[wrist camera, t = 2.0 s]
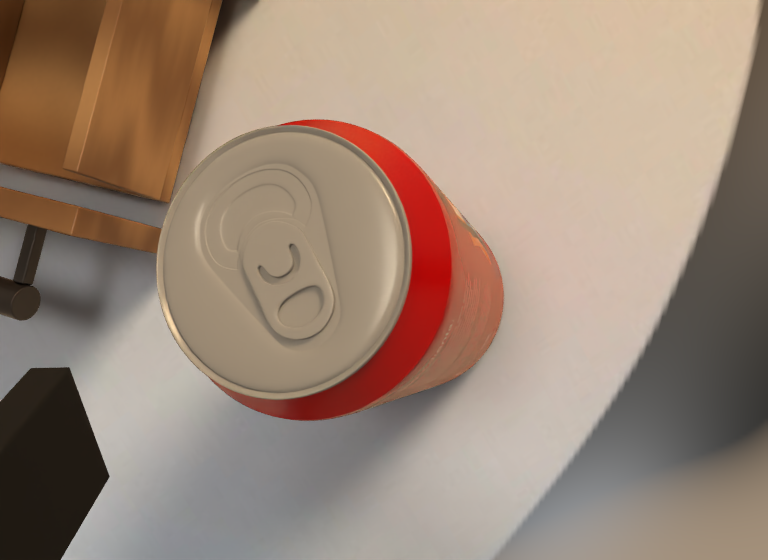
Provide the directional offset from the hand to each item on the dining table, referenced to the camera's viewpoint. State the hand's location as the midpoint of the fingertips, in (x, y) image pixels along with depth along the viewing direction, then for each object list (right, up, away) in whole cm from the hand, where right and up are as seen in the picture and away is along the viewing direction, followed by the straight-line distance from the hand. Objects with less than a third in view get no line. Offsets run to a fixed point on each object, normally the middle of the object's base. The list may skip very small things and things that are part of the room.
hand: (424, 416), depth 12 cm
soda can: (+1, +2, +18) cm, 18 cm away
